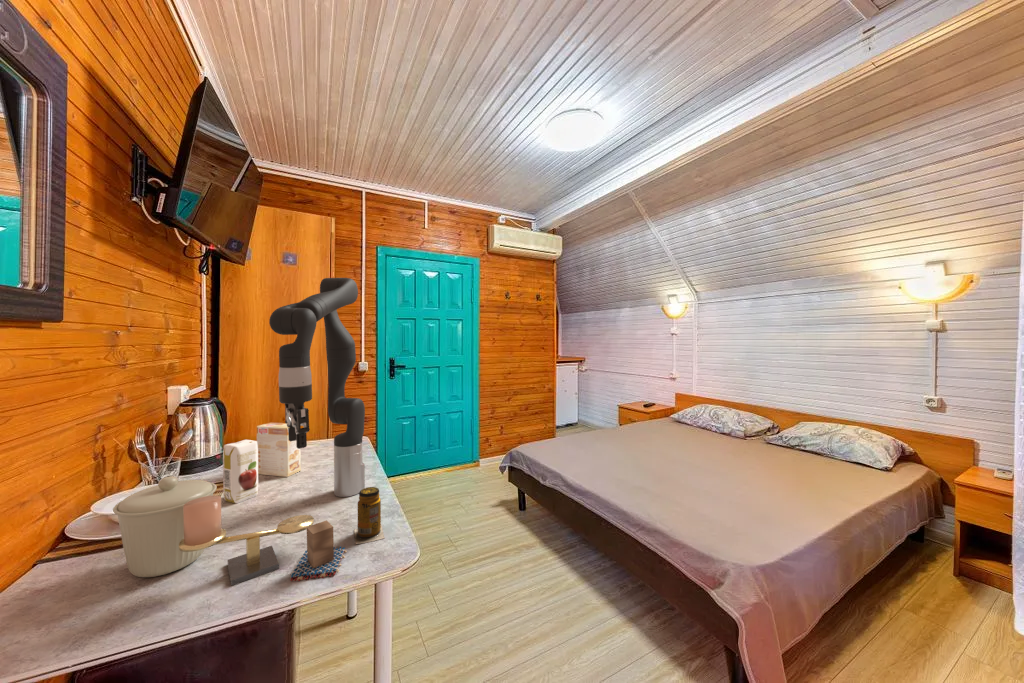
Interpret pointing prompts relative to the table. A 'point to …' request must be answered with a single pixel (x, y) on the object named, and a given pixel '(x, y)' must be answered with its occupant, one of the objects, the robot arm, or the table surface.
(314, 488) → the table surface
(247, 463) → the juice carton
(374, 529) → the condiment
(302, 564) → the woven mat
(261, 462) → the coffeecake box
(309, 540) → the block
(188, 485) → the canister
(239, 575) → the balance
